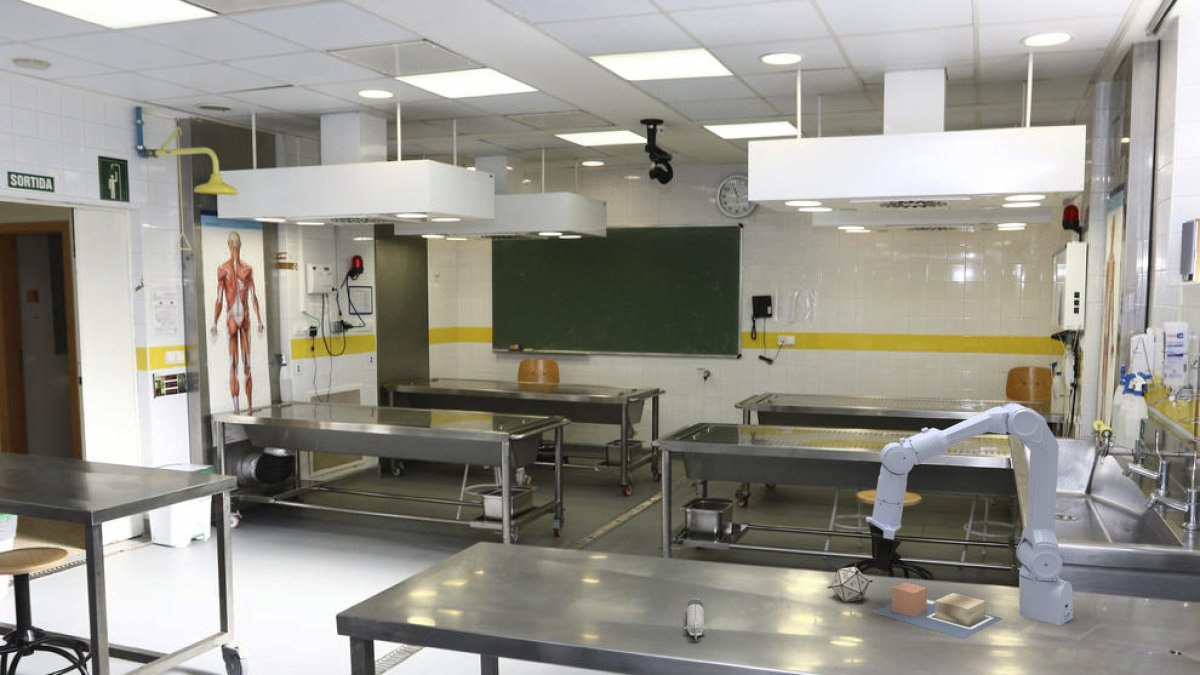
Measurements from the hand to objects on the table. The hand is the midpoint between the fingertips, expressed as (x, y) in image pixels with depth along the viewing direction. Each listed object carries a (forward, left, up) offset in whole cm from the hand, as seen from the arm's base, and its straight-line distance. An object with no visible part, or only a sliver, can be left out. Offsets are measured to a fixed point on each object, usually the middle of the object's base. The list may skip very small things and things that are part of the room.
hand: (879, 563), depth 190 cm
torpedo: (+21, +34, -11) cm, 41 cm away
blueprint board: (-10, -5, -10) cm, 15 cm away
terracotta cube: (-5, -3, -10) cm, 11 cm away
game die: (+8, -1, -11) cm, 13 cm away
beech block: (-14, -7, -10) cm, 18 cm away
